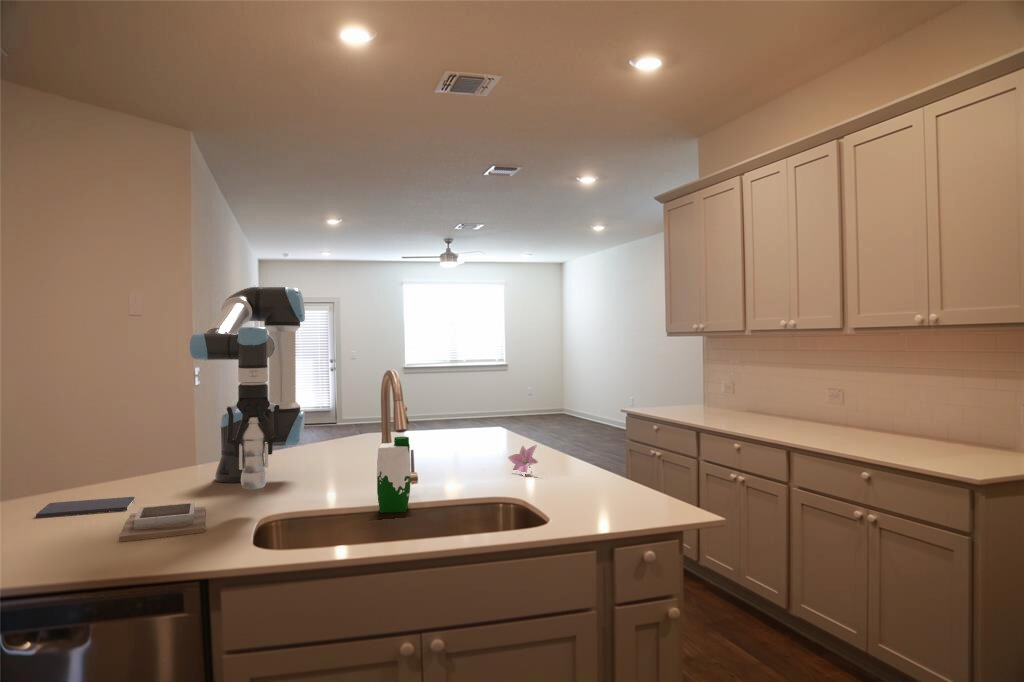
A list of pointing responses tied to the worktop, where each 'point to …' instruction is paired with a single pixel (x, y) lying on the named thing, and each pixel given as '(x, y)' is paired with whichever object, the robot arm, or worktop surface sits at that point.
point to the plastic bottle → (253, 455)
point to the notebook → (85, 507)
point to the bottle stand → (164, 521)
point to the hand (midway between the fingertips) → (253, 467)
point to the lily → (523, 459)
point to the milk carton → (393, 475)
